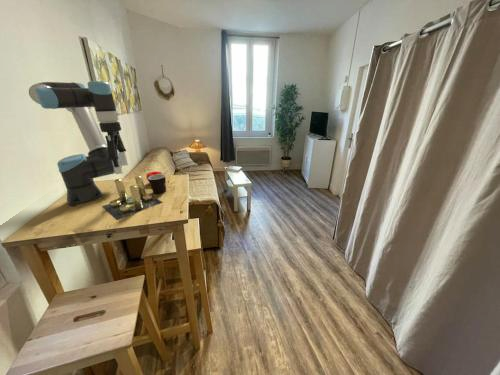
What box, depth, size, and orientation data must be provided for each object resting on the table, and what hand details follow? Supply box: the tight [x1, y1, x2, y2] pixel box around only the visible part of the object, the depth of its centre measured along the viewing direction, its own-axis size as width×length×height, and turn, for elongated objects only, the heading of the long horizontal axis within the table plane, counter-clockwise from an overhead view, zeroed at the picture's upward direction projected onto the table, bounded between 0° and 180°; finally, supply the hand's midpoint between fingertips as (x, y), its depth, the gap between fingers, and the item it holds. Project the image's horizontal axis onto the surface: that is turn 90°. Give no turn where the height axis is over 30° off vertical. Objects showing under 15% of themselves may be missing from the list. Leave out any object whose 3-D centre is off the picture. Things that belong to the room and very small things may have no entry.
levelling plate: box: [101, 196, 163, 221], centre depth 103 cm, size 20×21×3 cm
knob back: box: [109, 178, 129, 207], centre depth 102 cm, size 9×4×11 cm, turn 170°
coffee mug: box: [148, 173, 167, 195], centre depth 116 cm, size 12×9×10 cm
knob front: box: [120, 184, 143, 212], centre depth 96 cm, size 9×4×11 cm, turn 110°
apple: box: [145, 171, 163, 184], centre depth 128 cm, size 9×9×8 cm
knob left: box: [134, 175, 154, 201], centre depth 107 cm, size 9×4×11 cm, turn 50°
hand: (122, 169), depth 98 cm, fingers open, 13 cm apart
